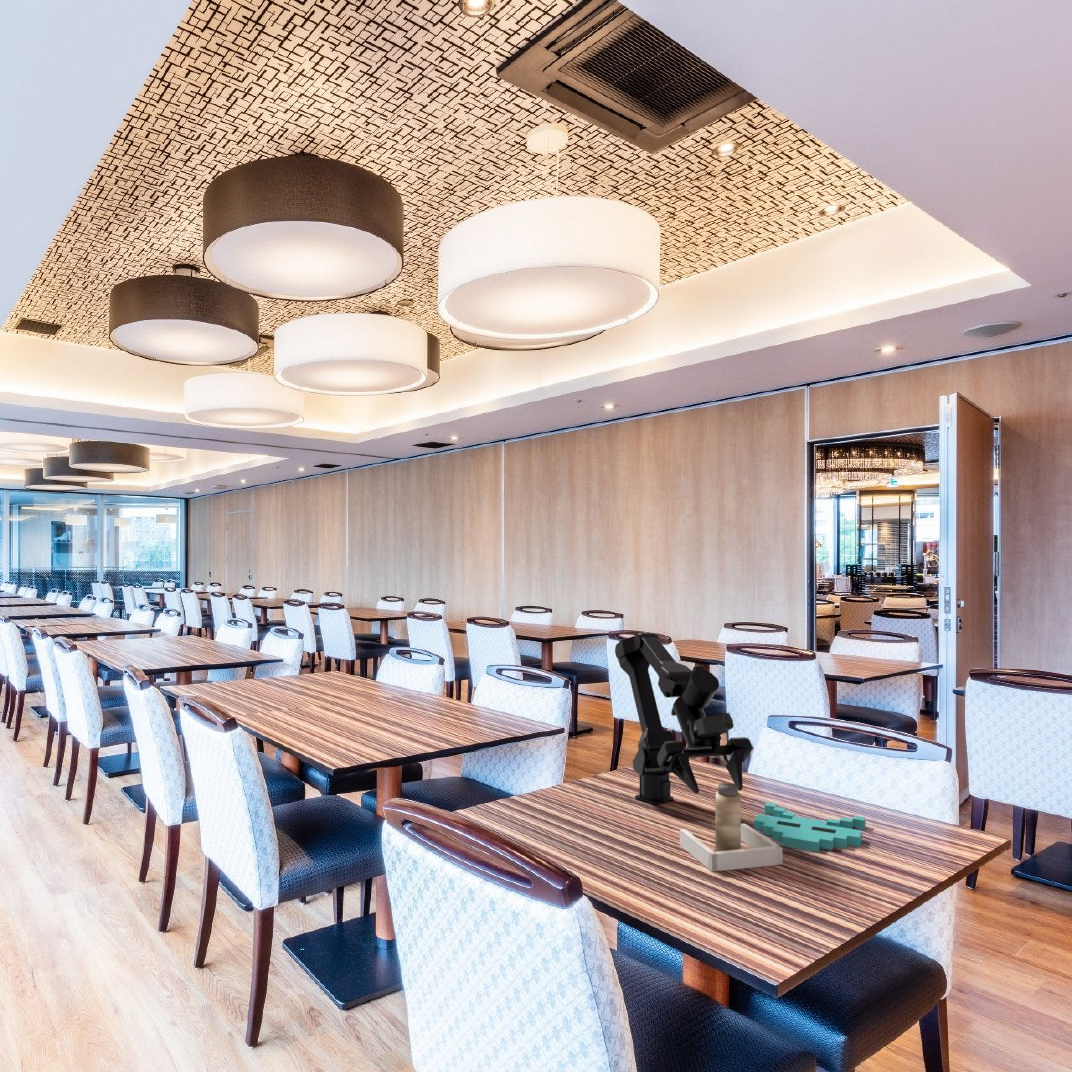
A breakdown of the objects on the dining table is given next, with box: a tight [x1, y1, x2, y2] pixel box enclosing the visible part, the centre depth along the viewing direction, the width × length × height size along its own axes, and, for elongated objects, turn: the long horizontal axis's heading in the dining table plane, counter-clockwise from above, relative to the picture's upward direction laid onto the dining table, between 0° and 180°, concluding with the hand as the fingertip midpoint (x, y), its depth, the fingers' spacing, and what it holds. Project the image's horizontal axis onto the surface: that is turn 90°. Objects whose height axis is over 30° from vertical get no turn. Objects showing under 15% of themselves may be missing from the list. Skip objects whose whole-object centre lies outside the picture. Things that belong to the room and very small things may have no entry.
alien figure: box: [753, 802, 867, 853], centre depth 154 cm, size 20×2×20 cm
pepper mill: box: [714, 782, 742, 852], centre depth 143 cm, size 5×5×12 cm
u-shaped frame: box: [679, 823, 783, 873], centre depth 142 cm, size 13×14×3 cm
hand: (719, 791), depth 146 cm, fingers open, 9 cm apart
